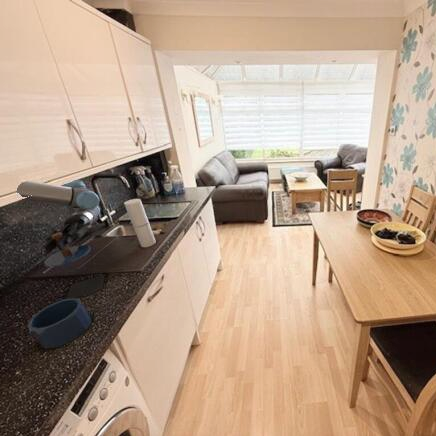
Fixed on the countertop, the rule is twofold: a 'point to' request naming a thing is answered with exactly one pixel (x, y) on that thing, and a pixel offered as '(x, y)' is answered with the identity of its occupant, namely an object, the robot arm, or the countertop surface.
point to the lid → (66, 253)
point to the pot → (59, 323)
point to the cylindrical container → (140, 222)
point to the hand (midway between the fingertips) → (53, 248)
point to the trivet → (86, 287)
